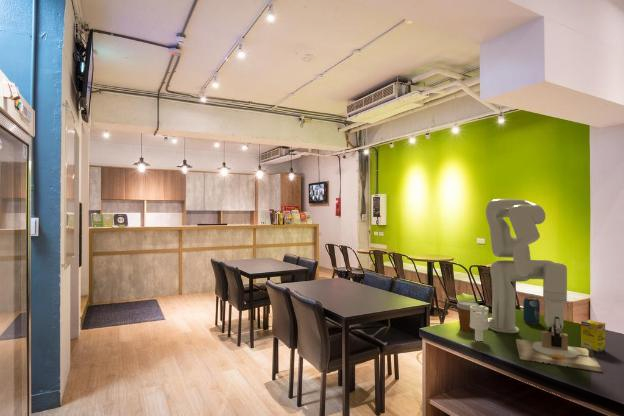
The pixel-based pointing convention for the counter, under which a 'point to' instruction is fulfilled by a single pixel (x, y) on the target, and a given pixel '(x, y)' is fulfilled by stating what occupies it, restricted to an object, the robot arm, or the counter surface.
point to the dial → (557, 352)
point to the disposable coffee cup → (465, 314)
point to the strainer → (479, 320)
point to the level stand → (581, 361)
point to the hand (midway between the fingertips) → (554, 343)
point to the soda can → (531, 310)
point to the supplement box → (593, 335)
